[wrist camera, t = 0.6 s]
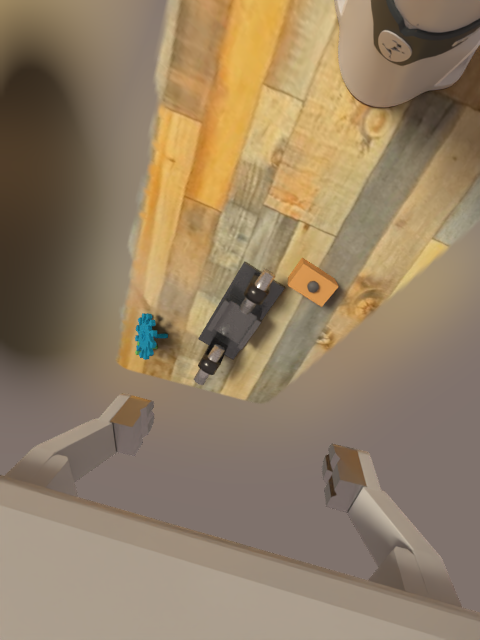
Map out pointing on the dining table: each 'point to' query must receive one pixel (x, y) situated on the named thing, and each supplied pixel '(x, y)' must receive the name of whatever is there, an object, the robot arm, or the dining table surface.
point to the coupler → (312, 282)
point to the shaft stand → (237, 317)
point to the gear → (146, 336)
